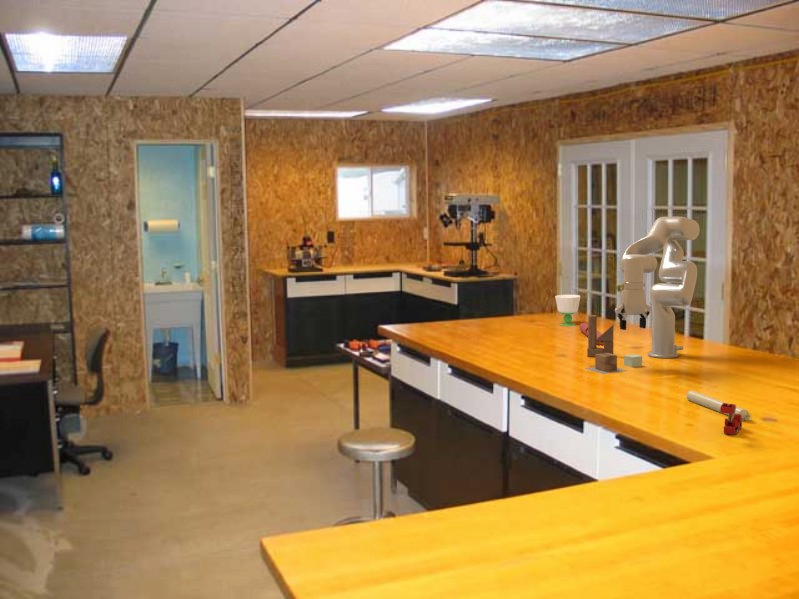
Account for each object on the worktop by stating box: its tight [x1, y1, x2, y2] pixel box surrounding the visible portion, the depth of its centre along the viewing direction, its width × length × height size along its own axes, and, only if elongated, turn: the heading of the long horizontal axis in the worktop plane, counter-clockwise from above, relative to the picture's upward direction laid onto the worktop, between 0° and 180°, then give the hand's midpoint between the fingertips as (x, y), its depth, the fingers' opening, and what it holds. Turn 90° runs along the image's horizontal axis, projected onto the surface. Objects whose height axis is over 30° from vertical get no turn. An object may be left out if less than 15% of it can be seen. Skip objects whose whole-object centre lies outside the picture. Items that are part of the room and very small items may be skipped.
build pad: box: [584, 366, 628, 375], centre depth 332 cm, size 12×12×1 cm
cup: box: [554, 294, 581, 327], centre depth 454 cm, size 14×14×16 cm
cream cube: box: [623, 354, 643, 368], centre depth 338 cm, size 5×5×5 cm
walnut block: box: [594, 353, 618, 372], centre depth 331 cm, size 6×6×6 cm
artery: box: [578, 322, 604, 346], centre depth 410 cm, size 42×5×5 cm, turn 179°
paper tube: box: [686, 390, 753, 422], centre depth 268 cm, size 4×30×4 cm, turn 14°
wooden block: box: [586, 314, 614, 358], centre depth 362 cm, size 4×11×18 cm, turn 67°
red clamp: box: [719, 402, 743, 435], centre depth 242 cm, size 3×14×10 cm, turn 145°
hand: (632, 328), depth 336 cm, fingers open, 9 cm apart
